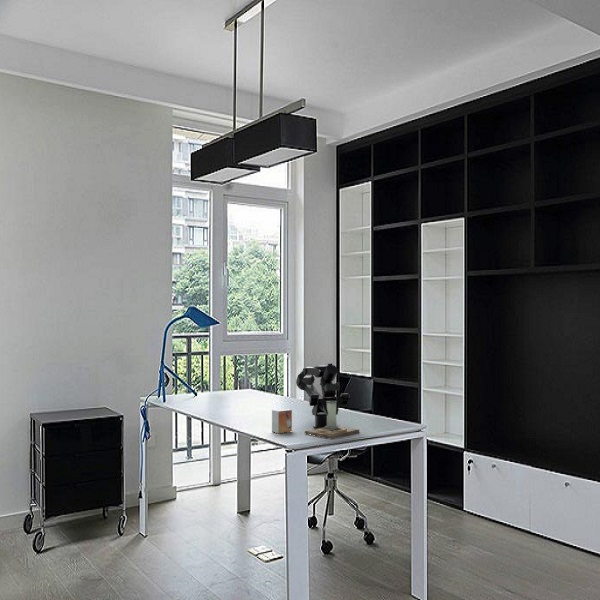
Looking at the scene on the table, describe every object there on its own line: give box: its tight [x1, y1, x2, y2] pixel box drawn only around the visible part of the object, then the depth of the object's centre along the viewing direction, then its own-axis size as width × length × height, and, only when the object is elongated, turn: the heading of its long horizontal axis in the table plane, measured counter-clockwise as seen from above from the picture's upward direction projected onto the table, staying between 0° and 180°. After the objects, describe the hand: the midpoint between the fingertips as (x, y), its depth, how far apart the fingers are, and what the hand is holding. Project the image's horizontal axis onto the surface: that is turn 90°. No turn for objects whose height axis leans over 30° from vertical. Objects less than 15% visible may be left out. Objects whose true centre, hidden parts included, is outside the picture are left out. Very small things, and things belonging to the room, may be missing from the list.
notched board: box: [304, 425, 360, 439], centre depth 315 cm, size 16×20×2 cm
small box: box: [271, 408, 293, 434], centre depth 320 cm, size 8×6×10 cm
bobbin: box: [325, 400, 340, 430], centre depth 313 cm, size 6×6×12 cm
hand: (332, 414), depth 312 cm, fingers closed on bobbin, 4 cm apart
